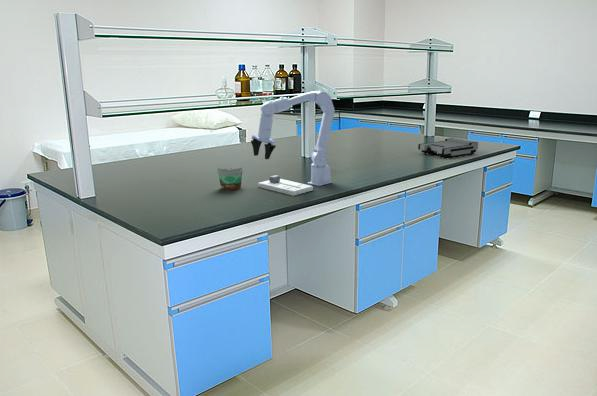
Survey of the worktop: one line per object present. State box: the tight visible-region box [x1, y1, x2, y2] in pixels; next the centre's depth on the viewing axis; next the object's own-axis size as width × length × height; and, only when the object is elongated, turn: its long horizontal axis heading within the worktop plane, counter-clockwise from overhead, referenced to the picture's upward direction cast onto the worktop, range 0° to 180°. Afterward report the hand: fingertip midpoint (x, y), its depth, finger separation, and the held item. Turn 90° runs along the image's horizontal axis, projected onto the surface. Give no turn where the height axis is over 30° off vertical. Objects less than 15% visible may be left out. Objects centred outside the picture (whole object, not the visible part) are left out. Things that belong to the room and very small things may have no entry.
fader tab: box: [268, 174, 281, 183], centre depth 233 cm, size 4×3×3 cm
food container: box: [216, 167, 245, 192], centre depth 227 cm, size 12×6×10 cm, turn 106°
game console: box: [417, 137, 479, 159], centre depth 313 cm, size 21×32×8 cm, turn 124°
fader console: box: [257, 178, 314, 197], centre depth 229 cm, size 13×23×2 cm, turn 47°
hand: (261, 157), depth 231 cm, fingers open, 7 cm apart
